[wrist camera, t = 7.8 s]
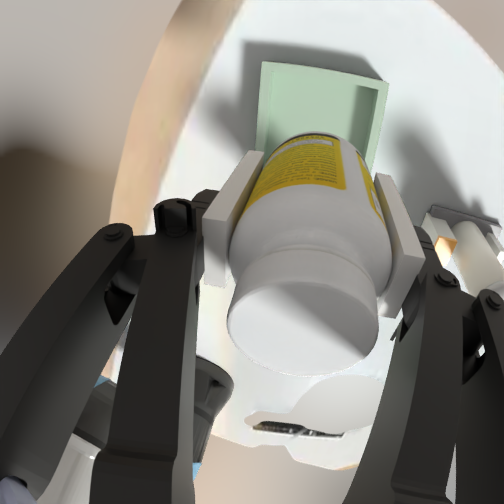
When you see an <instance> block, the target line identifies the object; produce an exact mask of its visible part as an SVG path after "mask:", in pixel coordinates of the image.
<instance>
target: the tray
mask: <svg viewBox="0 0 504 504" xmlns="http://www.w3.org/2000/svg"><path fill="white" fill-rule="evenodd" d="M388 88H389V83H387V82H385V81H382V80H378V79H374V78H369V77H365V76H361V75H356V74H351V73H347V72H341V71H336V70H331V69H325V68H319V67H312V66H306V65H298V64H290V63H282V62H272V61H262V66H261V79H260V91H259V104H258V116H257V129H256V142H255V151H261V152H264V162H263V168H264V166H265V164H266V162H267V160H268V158H269V156H270V155H271V153H272V152H273V151H274V150H275V149H276V148H277V146H278V145H280V144H281V143H282V142H283V141H285V140H286V139H288V138H290V137H292V136H294V135H297V134H300V133H304V132H311V131H319V132H327V133H331V134H334V135H337V136H339V137H341V138H343V139H345V140H346V141H348V142H349V143H350V144H352V145H353V146H354V147H355V148H356V149H357V150H358V151H359V152H360V154H361V155H362V157H363V158H364V160H365V162H366V164H367V167H368V169H369V172H370V174H371V170H372V166H373V162H374V157H375V153H376V149H377V144H378V139H379V135H380V130H381V125H382V120H383V115H384V110H385V105H386V99H387V94H388Z"/></svg>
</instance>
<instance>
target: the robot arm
mask: <svg viewBox="0 0 504 504" xmlns="http://www.w3.org/2000/svg"><path fill="white" fill-rule="evenodd" d="M263 162H264V152H261V151H253V150H248V152H247V153H246V155H245V156H244V157H243V159H242V160H241V161H240V163H239V164H238V166H237V167H236V169H235V170H234V171H233V173H232V174H231V176H230V177H229V178H228V180H227V181H226V183H225V184H224V186H223V187H222V189H221V190H220V191H216V190H209V189H205V190H203V191H201V192H199V193H198V194H196V196H195V197H194V198H193V199H192V201H189V200H186V199H180V198H174V199H168V200H164V201H161V202H160V203H158V204H156V206H155V207H154V208H153V210H154V219H155V227H156V233H155V234H154V235H141V236H133V231H132V228H131V227H130V226H129V225H127V224H123V223H113V224H109V225H107V226H105V227H103V228H102V229H100V230H99V231H98V232H97V233H96V234H95V235H94V236H93V237H92V238H91V239H90V241H89V242H88V243H87V244H86V245H85V246H84V247H83V248H82V249H81V251H80V252H79V253H78V254H77V255H76V256H75V258H74V259H73V260H72V261H71V262H70V263H69V265H68V266H67V267H66V268H65V269H64V270H63V272H62V273H61V274H60V275H59V276H58V278H57V279H56V280H55V281H54V283H53V284H52V285H51V286H50V288H49V289H48V290H47V291H46V293H45V294H44V295H43V296H42V298H41V299H40V300H39V302H38V303H37V304H36V306H35V307H34V308H33V310H32V311H31V312H30V314H29V315H28V316H27V318H26V319H25V320H24V322H23V323H22V325H21V326H20V327H19V329H18V330H17V332H16V333H15V335H14V336H13V337H12V339H11V341H10V342H9V344H8V345H7V346H6V348H5V349H4V351H3V352H2V354H1V355H0V504H195V492H194V484H193V480H194V479H195V477H196V474H197V472H198V470H199V467H200V466H201V462H202V459H203V455H204V452H205V449H206V445H207V442H208V439H209V435H210V432H211V429H212V426H213V422H214V419H215V417H216V416H217V415H218V413H219V412H220V411H221V410H222V408H223V407H224V406H225V404H226V403H227V402H228V400H229V399H230V397H231V395H232V391H233V388H234V383H233V380H232V379H231V377H230V376H229V375H228V374H227V373H226V372H225V371H224V370H222V369H221V368H219V367H218V366H216V365H214V364H212V363H210V362H208V361H206V360H203V359H200V358H197V357H196V341H197V325H198V310H199V296H200V286H199V281H200V279H201V277H202V275H203V273H204V284H206V285H211V286H216V287H221V288H225V287H226V284H227V282H228V279H229V277H230V274H231V269H230V261H229V250H230V244H231V240H232V236H233V233H234V231H235V228H236V226H237V223H238V221H239V219H240V217H241V215H242V213H243V211H244V209H245V206H246V204H247V202H248V200H249V198H250V195H251V193H252V191H253V188H254V186H255V184H256V182H257V180H258V178H259V176H260V174H261V172H262V170H263ZM373 184H374V187H375V190H376V194H377V197H378V200H379V204H380V207H381V211H382V214H383V218H384V221H385V225H386V229H387V232H388V235H389V239H390V245H391V251H392V267H391V273H390V277H389V280H388V283H387V285H386V287H385V289H384V291H383V292H382V294H381V295H380V297H379V298H378V299H377V309H378V316H382V317H389V318H396V317H397V315H398V313H399V311H400V309H401V307H402V311H403V318H402V320H401V322H400V323H399V325H398V327H397V328H396V330H395V332H394V333H393V335H392V337H391V339H390V340H391V341H393V340H394V338H395V337H396V339H395V344H394V349H393V353H392V358H391V362H390V366H389V370H388V374H387V378H386V382H385V386H384V390H383V393H382V397H381V401H380V404H379V407H378V411H377V414H376V417H375V421H374V424H373V427H372V430H371V433H370V436H369V439H368V442H367V444H366V447H365V450H364V453H363V456H362V458H361V461H360V464H359V466H358V469H357V471H356V474H355V476H354V479H353V482H352V484H351V486H350V488H349V491H348V493H347V495H346V497H345V499H344V501H343V503H342V504H453V503H452V502H451V501H450V500H449V499H448V498H447V497H446V494H445V492H446V486H447V481H448V477H449V473H450V468H451V462H452V458H453V452H454V447H455V444H456V500H455V504H504V300H503V299H502V298H501V296H500V295H499V294H498V293H496V292H495V291H492V290H490V289H482V290H480V292H479V293H478V295H477V297H474V296H472V295H470V294H468V293H465V292H463V291H461V288H460V284H459V281H458V279H457V278H456V277H455V276H454V275H453V274H452V273H451V272H450V271H448V270H446V269H444V268H443V267H442V264H441V262H440V259H439V257H438V254H437V252H436V251H435V247H434V245H433V243H432V240H431V238H430V236H429V235H428V234H427V233H426V231H425V230H424V229H423V228H421V227H416V226H413V225H412V222H411V220H410V217H409V215H408V213H407V210H406V208H405V206H404V203H403V201H402V199H401V197H400V195H399V192H398V190H397V188H396V186H395V184H394V182H393V180H392V178H391V176H389V175H385V174H381V173H377V172H376V175H375V179H374V183H373ZM131 316H132V317H131ZM130 318H131V321H130V326H129V330H128V334H127V338H126V343H125V347H124V352H123V356H122V361H121V366H120V371H119V376H118V381H117V384H116V383H114V382H112V381H111V380H110V379H109V378H106V377H104V376H102V375H100V374H101V372H102V370H103V369H104V367H105V365H106V363H107V361H108V359H109V357H110V355H111V353H112V351H113V349H114V348H115V346H116V344H117V342H118V340H119V338H120V336H121V335H122V333H123V331H124V329H125V327H126V325H127V324H128V322H129V320H130ZM482 345H484V349H485V353H484V354H483V355H482V356H481V357H480V355H479V352H478V350H479V349H480V348H481V346H482Z"/></svg>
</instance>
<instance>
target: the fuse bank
mask: <svg viewBox="0 0 504 504" xmlns="http://www.w3.org/2000/svg"><path fill="white" fill-rule="evenodd" d="M421 228H423V229H424V230H425V231H426V233H427V234H428V235H429V236H430V238H431V240H432V243H433V245H434V247H435V251H436V252H437V254H438V257H439V259H440V262H441V264H442V266H446V265H447V263H448V261H449V259H450V257H451V255H452V257H453V259H454V261H455V263H456V266H457V268H458V270H459V272H460V275H461V277H462V279H463V282H464V284H465V287H466V289H467V291H468V294H470V295H472V296H474V297H477V295H478V293H479V292H480V290H482V289H490V290H492V291H495V292H496V293H498V294H499V295H500V296H501V298H502V299H503V300H504V269H503V267H502V265H501V262H502V260H503V259H504V248H503V247H502V245H501V244H500V242H499V241H498V237H499V235H500V233H501V230H502V227H501V226H500V225H499V224H496V223H493V222H490V221H486V220H483V219H480V218H477V217H473V216H470V215H467V214H463V213H460V212H456V211H453V210H449V209H446V208H442V207H438V206H434V205H432V208H431V211H430V213H427V212H426V215H425V218H424V221H423V223H422V226H421Z"/></svg>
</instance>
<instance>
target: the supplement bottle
mask: <svg viewBox="0 0 504 504" xmlns="http://www.w3.org/2000/svg"><path fill="white" fill-rule="evenodd" d="M229 261H230V269H231V273H232V275H233V278H234V281H235V283H236V287H235V291H234V295H233V298H232V301H231V304H230V307H229V310H228V314H227V329H228V333H229V335H230V338H231V339H232V341H233V343H234V344H235V346H236V347H237V348H238V349H239V350H240V351H241V352H242V353H243V354H244V355H245V356H246V357H248V358H249V359H250V360H252V361H254V362H255V363H257V364H259V365H261V366H263V367H265V368H267V369H270V370H273V371H276V372H279V373H283V374H288V375H294V376H307V377H313V376H325V375H330V374H334V373H338V372H341V371H344V370H346V369H349V368H351V367H353V366H354V365H356V364H358V363H359V362H360V361H362V360H363V359H364V358H365V357H366V356H367V355H368V354H369V353H370V352H371V350H372V349H373V347H374V345H375V343H376V340H377V337H378V331H379V323H378V309H377V299H378V298H379V297H380V295H381V294H382V292H383V291H384V289H385V287H386V285H387V283H388V280H389V277H390V273H391V267H392V251H391V245H390V239H389V235H388V232H387V229H386V225H385V221H384V218H383V214H382V211H381V207H380V204H379V200H378V197H377V194H376V190H375V187H374V184H373V181H372V177H371V174H370V172H369V169H368V167H367V164H366V162H365V160H364V158H363V157H362V155H361V154H360V152H359V151H358V150H357V149H356V148H355V147H354V146H353V145H352V144H350V143H349V142H348V141H346V140H345V139H343V138H341V137H339V136H337V135H334V134H331V133H327V132H319V131H311V132H304V133H300V134H297V135H294V136H292V137H290V138H288V139H286V140H285V141H283V142H282V143H281V144H280V145H278V146H277V148H276V149H275V150H274V151H273V152H272V153H271V155H270V156H269V158H268V160H267V162H266V164H265V166H264V168H263V170H262V172H261V174H260V176H259V178H258V180H257V182H256V184H255V186H254V188H253V191H252V193H251V195H250V198H249V200H248V202H247V204H246V206H245V209H244V211H243V213H242V215H241V217H240V219H239V221H238V223H237V226H236V228H235V231H234V233H233V236H232V240H231V244H230V250H229Z"/></svg>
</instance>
